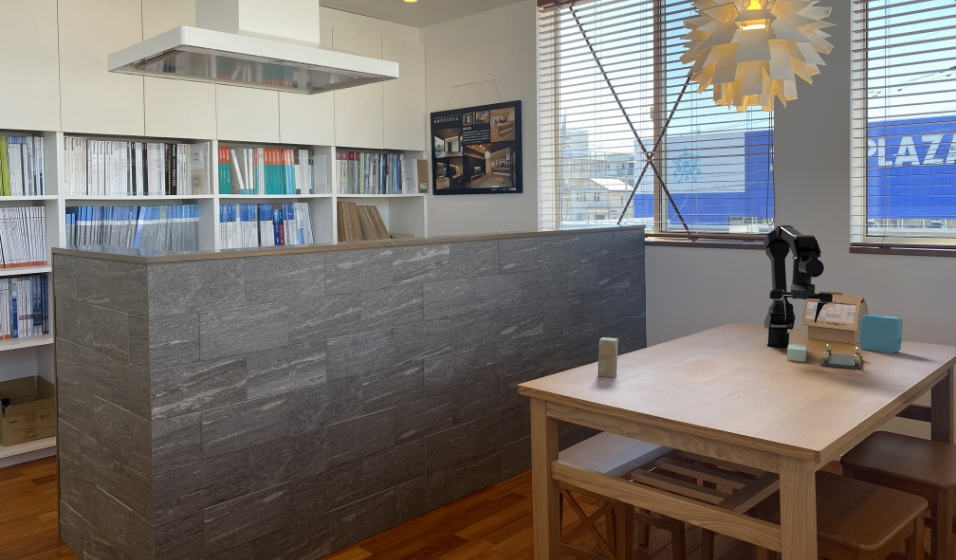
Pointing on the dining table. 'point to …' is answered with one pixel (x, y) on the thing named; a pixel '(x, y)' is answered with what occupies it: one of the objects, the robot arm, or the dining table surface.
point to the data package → (881, 333)
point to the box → (608, 357)
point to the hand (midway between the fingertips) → (799, 321)
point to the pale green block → (796, 352)
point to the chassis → (842, 359)
